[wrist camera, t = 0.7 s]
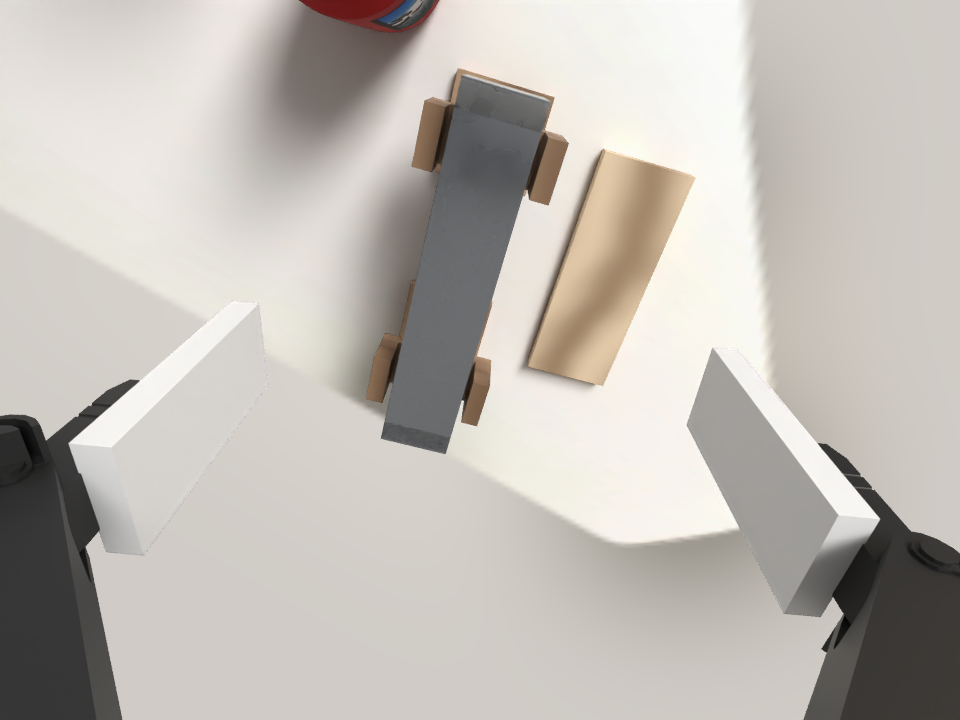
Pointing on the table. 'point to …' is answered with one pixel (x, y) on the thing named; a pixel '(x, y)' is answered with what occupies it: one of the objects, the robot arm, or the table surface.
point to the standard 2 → (437, 131)
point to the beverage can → (376, 12)
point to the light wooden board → (608, 265)
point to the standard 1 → (388, 362)
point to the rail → (462, 256)
